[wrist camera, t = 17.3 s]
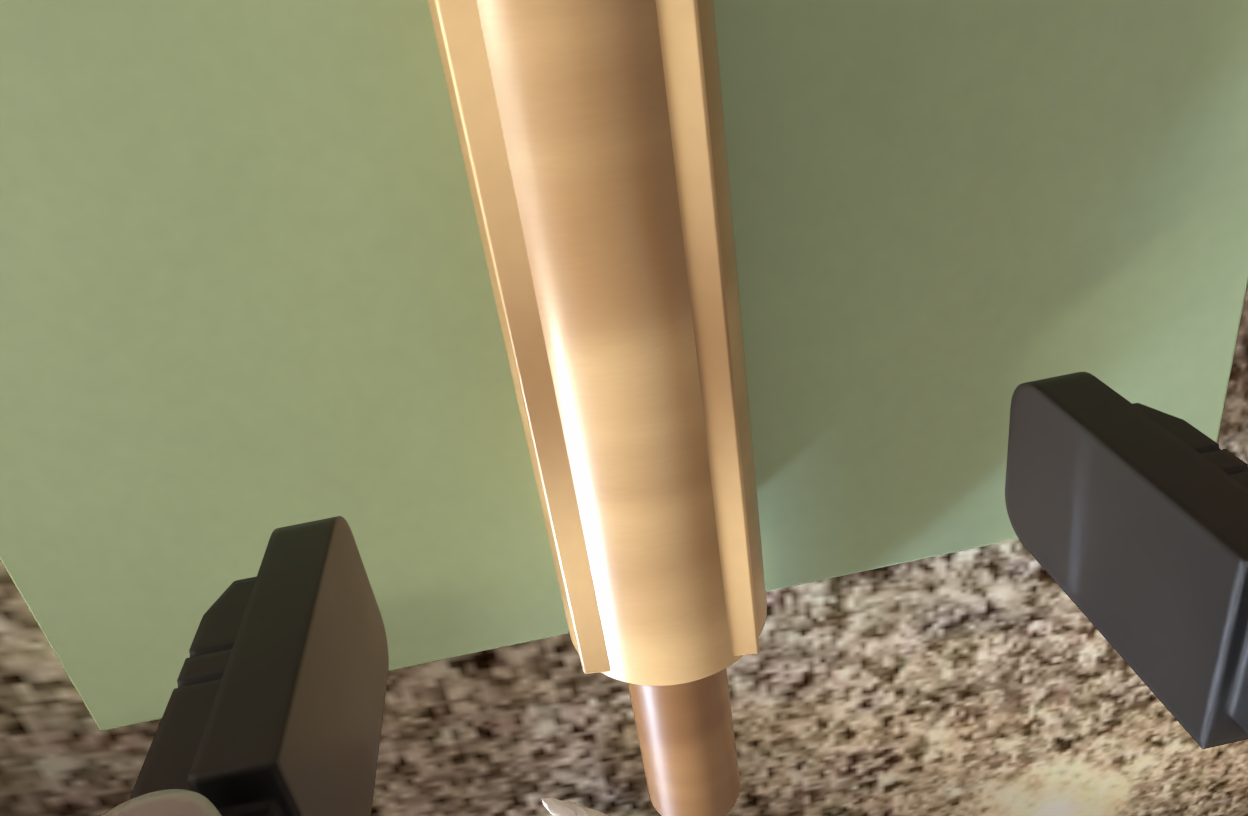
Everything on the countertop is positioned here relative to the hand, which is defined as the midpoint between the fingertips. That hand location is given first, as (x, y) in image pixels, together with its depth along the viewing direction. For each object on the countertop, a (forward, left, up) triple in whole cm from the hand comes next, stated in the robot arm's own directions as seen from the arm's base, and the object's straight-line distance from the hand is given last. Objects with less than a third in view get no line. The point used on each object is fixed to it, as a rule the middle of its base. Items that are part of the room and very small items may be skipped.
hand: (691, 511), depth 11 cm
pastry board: (0, 0, -11) cm, 11 cm away
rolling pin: (0, 0, -10) cm, 10 cm away
